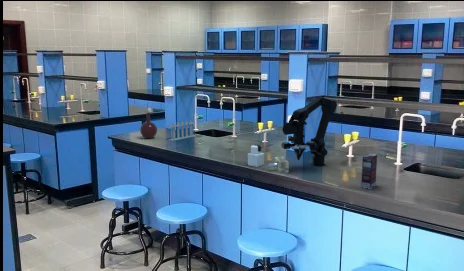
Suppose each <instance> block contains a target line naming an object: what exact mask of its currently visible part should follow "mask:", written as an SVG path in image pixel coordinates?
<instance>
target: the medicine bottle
mask: <svg viewBox="0 0 464 271" xmlns="http://www.w3.org/2000/svg"><path fill="white" fill-rule="evenodd" d="M247 165H248V166H250V167H256V168H259V167H261V166H264V165H265V153H264V152H262V146H261V145H260V144H252V145H251V146H250V152H248V153H247Z"/></svg>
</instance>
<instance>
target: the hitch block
mask: <svg viewBox="0 0 464 271" xmlns="http://www.w3.org/2000/svg"><path fill="white" fill-rule="evenodd" d="M288 161H289V160H287V159H286V158H285V157H284V156H279V157H278V156H277V157H276V156H275V157H274V163H278V167H274V168H275V170H276V171H277V172H278V173H280V174H283V173H284V174H285V173H286V174H287V173H289V170H290V161H289V162H288Z"/></svg>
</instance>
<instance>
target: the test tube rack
mask: <svg viewBox="0 0 464 271" xmlns="http://www.w3.org/2000/svg"><path fill="white" fill-rule="evenodd" d="M194 124H196V122H192V120H189V122H188V121H187V120H185V122H184V121H181V122H176V123H175V122H173V123H172V125H169V126H168V127H169V128H170V137H171V138H169V139H168V141H171V142H173V141H178V140H183V139H189V138H194V137H197V136H196V135H195V134H194ZM188 125H189V127H188ZM184 126H185V127H184ZM180 128H181V129H180ZM184 128H185V132H184ZM188 129H189V131H188ZM180 133H181V136H180ZM176 136H177V137H176Z"/></svg>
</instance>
